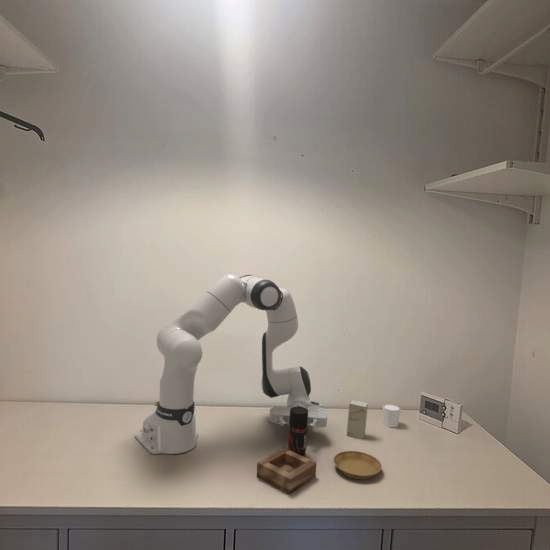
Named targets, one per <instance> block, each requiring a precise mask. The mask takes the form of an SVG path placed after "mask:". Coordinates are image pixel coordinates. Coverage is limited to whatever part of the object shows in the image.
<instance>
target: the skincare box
mask: <svg viewBox="0 0 550 550" xmlns="http://www.w3.org/2000/svg"><path fill="white" fill-rule="evenodd" d="M368 408H369V403H368V402H364V401H360V400H353V399H351V400H350V402H349V405H348V416H347V426H346V436H349V437H352V438H357V439H361V440H363V439H364V438H365V436H366V430H367V429H366V427H367V417H368Z"/></svg>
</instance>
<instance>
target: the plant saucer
mask: <svg viewBox="0 0 550 550" xmlns="http://www.w3.org/2000/svg"><path fill="white" fill-rule="evenodd" d="M332 460H333V463H334V465H335V467H336V468H337V469H338V470H339V471H340V473H341V474H343V475H345V476H346V477H349V478H350V479H355V480H368V479H370V478H373V477H375V476H376V475H377V474H379V472H381V470H382V463H381V461H380V460H378V459H377V458H376V456H375V457H374V456H373V455H371V454H369V453H366V452H362V451H358V450H345V451H340V452H339V453H336V454H335V455H334V456H333V459H332Z"/></svg>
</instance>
